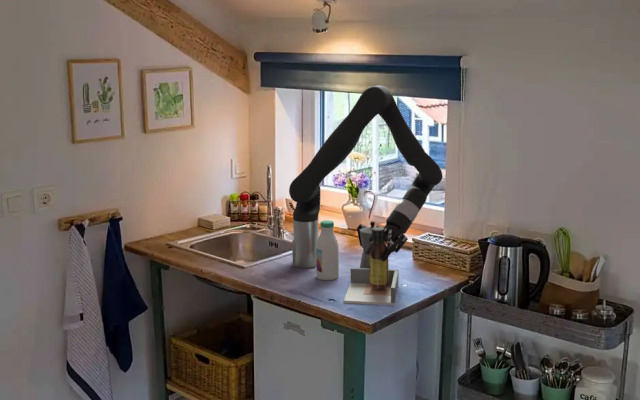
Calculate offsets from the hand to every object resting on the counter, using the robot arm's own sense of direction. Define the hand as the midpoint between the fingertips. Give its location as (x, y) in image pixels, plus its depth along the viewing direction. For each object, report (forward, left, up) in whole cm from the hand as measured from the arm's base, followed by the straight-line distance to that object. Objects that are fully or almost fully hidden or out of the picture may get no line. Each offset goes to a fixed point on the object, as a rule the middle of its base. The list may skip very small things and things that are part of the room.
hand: (375, 257), depth 236 cm
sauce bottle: (+1, +1, -11) cm, 11 cm away
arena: (-1, -1, -12) cm, 12 cm away
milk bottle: (-18, +14, -13) cm, 26 cm away
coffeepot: (-4, +24, -13) cm, 27 cm away
